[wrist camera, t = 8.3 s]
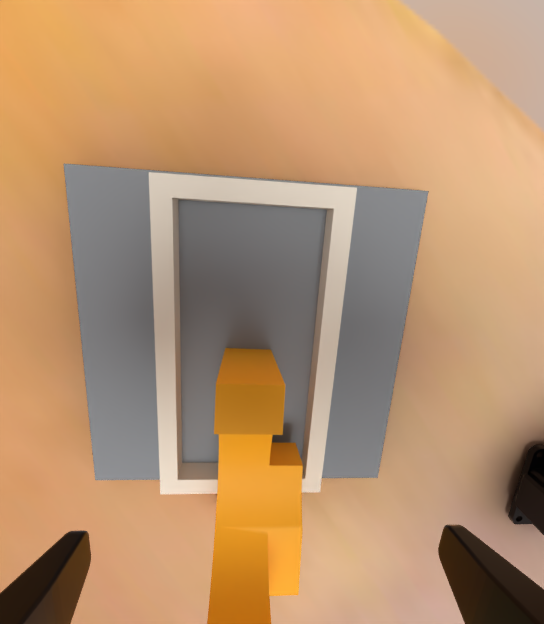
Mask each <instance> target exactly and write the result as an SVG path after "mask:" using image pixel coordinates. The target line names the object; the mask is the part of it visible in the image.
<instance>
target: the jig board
mask: <svg viewBox="0 0 544 624" xmlns="http://www.w3.org/2000/svg"><path fill="white" fill-rule="evenodd" d="M64 172H65V182H66V192H67V202H68V212H69V222H70V232H71V242H72V252H73V262H74V272H75V282H76V292H77V302H78V312H79V321H80V331H81V341H82V351H83V361H84V371H85V381H86V391H87V401H88V411H89V421H90V431H91V441H92V451H93V461H94V471H95V480H160V494H217V488H218V463H219V434H214V420H215V394H216V381H217V378H218V374H219V370H220V366H221V362H222V359H223V355H224V351H225V348H239V349H269V350H271V351H272V353H273V356H274V358H275V361H276V363H277V366H278V368H279V371H280V373H281V376H282V378H283V380H284V383H285V402H284V419H283V435H273V437H272V442H275V443H296V446H297V449H298V452H299V455H300V458H301V461H302V464H303V472H302V492H320V488H321V480H322V478H378V472H379V467H380V461H381V456H382V450H383V444H384V439H385V433H386V427H387V422H388V416H389V410H390V405H391V399H392V394H393V388H394V382H395V377H396V371H397V365H398V360H399V354H400V348H401V343H402V337H403V331H404V326H405V320H406V315H407V309H408V303H409V298H410V292H411V286H412V281H413V275H414V269H415V264H416V258H417V252H418V247H419V241H420V236H421V230H422V224H423V219H424V213H425V207H426V202H427V196H428V191H420V190H407V189H394V188H380V187H367V186H354V185H341V184H327V183H314V182H301V181H287V180H274V179H261V178H248V177H234V176H221V175H208V174H195V173H181V172H168V171H155V170H141V169H128V168H115V167H102V166H88V165H75V164H64Z"/></svg>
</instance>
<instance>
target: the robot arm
mask: <svg viewBox="0 0 544 624" xmlns="http://www.w3.org/2000/svg"><path fill="white" fill-rule="evenodd" d="M508 517H509V518H510V520H511V521H512V522H513V523H514V524H533V525H534V526H535V527H536V528H537V529H538V530H539V531H540V532H541V533H542V534H543V535H544V445H534V446H532V447H531V448H530V449H529V451H528V455H527V458H526V461H525V464H524V467H523V470H522V473H521V477H520V480H519V483H518V486H517V489H516V492H515V495H514V499H513V502H512V505H511V508H510V511H509V515H508ZM438 553H439V558H440V561H441V563H442V566H443V569H444V571H445V574H446V576H447V579H448V581H449V584H450V587H451V589H452V592H453V594H454V597H455V599H456V602H457V604H458V607H459V610H460V612H461V615H462V617H463V620H464V622H465V624H544V589H543V588H541V587H540V586H539V585H537V584H536V583H535V582H534V581H532V580H531V579H530V578H528V577H527V576H526V575H525V574H523V573H522V572H521V571H520V570H518V569H517V568H516V567H514V566H513V565H512V564H511V563H509V562H508V561H507V560H505V559H504V558H503V557H502V556H500V555H499V554H498V553H497V552H495V551H494V550H493V549H491V548H490V547H489V546H488V545H486V544H485V543H484V542H482V541H481V540H480V539H479V538H477V537H476V536H475V535H474V534H472V533H471V532H470V531H468V530H467V529H466V528H465V527H463V526H461V525H446V526H445V527H444V529H443V532H442V536H441V540H440V544H439V548H438ZM90 562H91V551H90V542H89V534H88V532H87V531H70V532H68V533H66V534H65V535H64V536H63V537H62V538H61V539H60V540H59V541H57V542H56V543H55V544H54V545H53V546H52V547H51V548H50V549H49V550H47V551H46V552H45V553H44V554H43V555H42V556H41V557H40V558H39V559H38V560H36V561H35V562H34V563H33V564H32V565H31V566H30V567H29V568H28V569H26V570H25V571H24V572H23V573H22V574H21V575H20V576H19V577H18V578H17V579H15V580H14V581H13V582H12V583H11V584H10V585H9V586H8V587H7V588H5V589H4V590H3V591H2V592H1V593H0V624H70V623H71V620H72V617H73V614H74V611H75V608H76V606H77V603H78V600H79V597H80V594H81V591H82V588H83V585H84V582H85V579H86V576H87V573H88V570H89V566H90Z"/></svg>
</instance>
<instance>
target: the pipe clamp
mask: <svg viewBox="0 0 544 624" xmlns="http://www.w3.org/2000/svg"><path fill="white" fill-rule="evenodd" d="M284 402H285V383H284V380H283V378H282V376H281V373H280V371H279V368H278V366H277V363H276V361H275V358H274V356H273V353H272V351H271V350H269V349H239V348H225V351H224V355H223V359H222V362H221V366H220V370H219V374H218V378H217V381H216V394H215V420H214V434H219V463H218V488H217V507H216V523H215V538H214V552H213V565H212V577H211V589H210V601H209V611H208V622H207V624H271V615H270V599H269V596H281V595H298V590H299V575H300V559H301V544H302V472H303V464H302V461H301V458H300V455H299V452H298V449H297V446H296V443H275V442H272V437H273V435H283V419H284Z"/></svg>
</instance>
